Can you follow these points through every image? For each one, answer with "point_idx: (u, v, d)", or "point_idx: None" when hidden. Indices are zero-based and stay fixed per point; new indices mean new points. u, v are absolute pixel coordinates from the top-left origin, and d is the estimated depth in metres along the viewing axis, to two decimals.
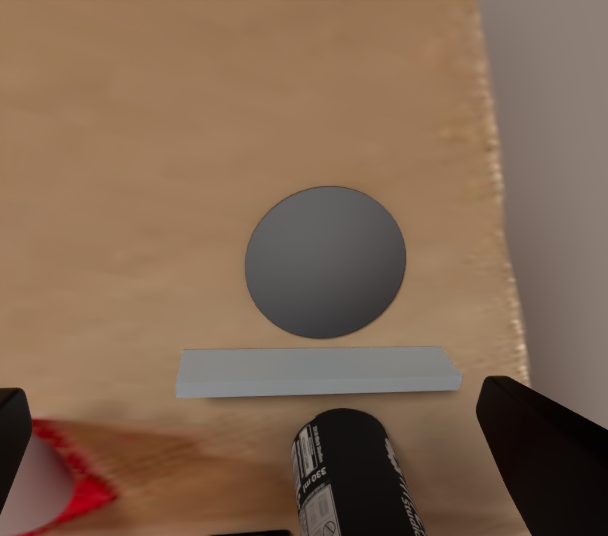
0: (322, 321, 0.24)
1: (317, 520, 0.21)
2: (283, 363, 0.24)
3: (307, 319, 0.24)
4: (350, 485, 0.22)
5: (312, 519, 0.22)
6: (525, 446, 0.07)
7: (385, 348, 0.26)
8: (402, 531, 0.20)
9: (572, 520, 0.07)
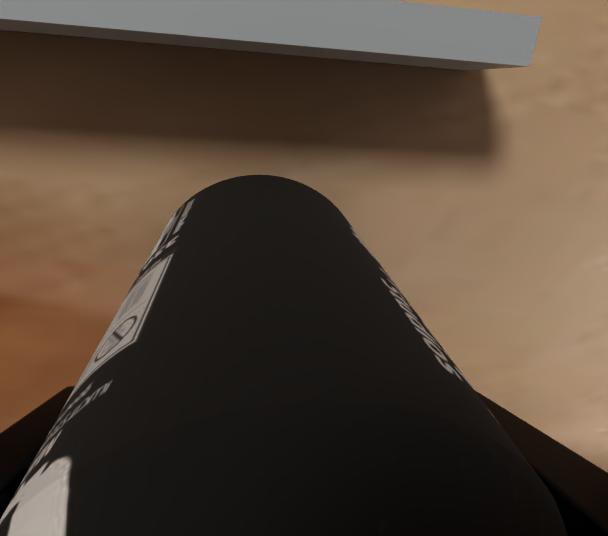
0: None
1: (106, 333, 0.07)
2: None
3: None
4: (225, 240, 0.07)
5: None
6: None
7: None
8: (376, 322, 0.05)
9: None
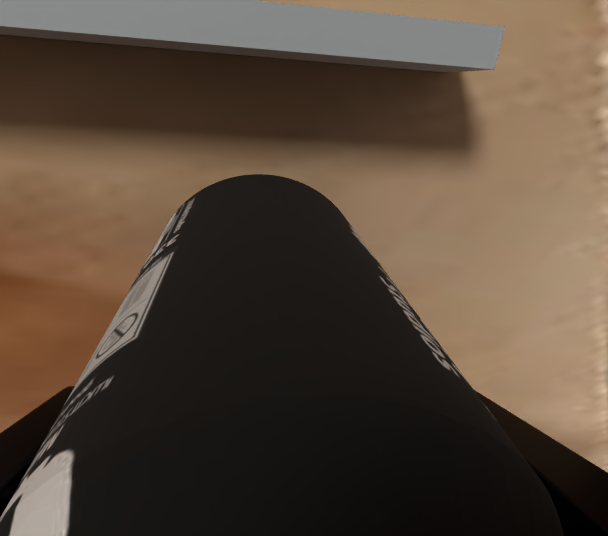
0: None
1: (107, 331, 0.07)
2: None
3: None
4: (226, 239, 0.07)
5: None
6: None
7: None
8: (374, 319, 0.05)
9: None
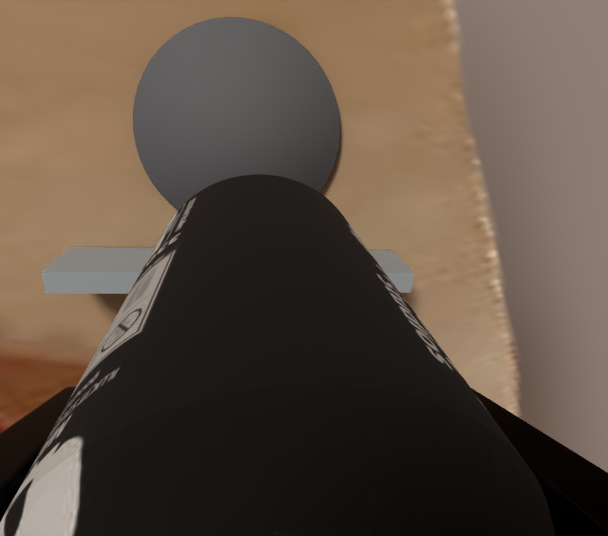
0: None
1: (111, 326, 0.07)
2: None
3: None
4: (226, 237, 0.07)
5: (107, 331, 0.07)
6: None
7: None
8: (370, 314, 0.05)
9: None
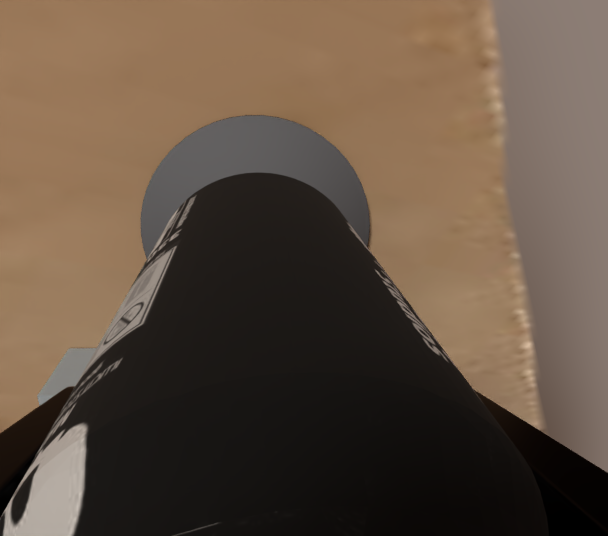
0: None
1: (113, 319, 0.07)
2: None
3: None
4: (226, 233, 0.08)
5: None
6: None
7: None
8: (367, 306, 0.05)
9: None
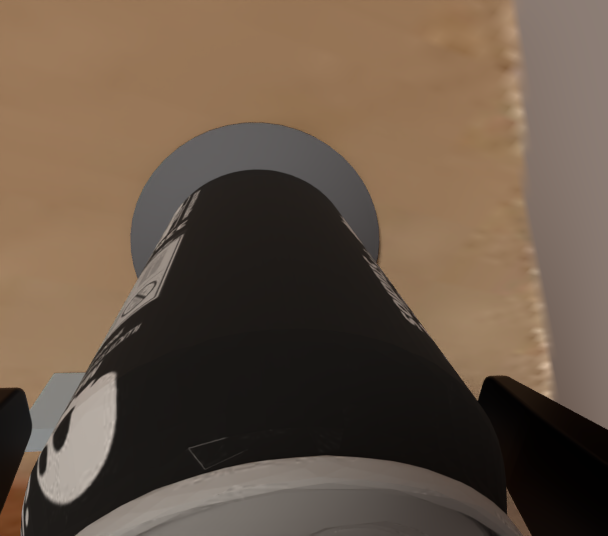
0: None
1: (128, 299, 0.08)
2: None
3: None
4: (229, 222, 0.08)
5: None
6: (525, 446, 0.07)
7: None
8: (352, 283, 0.06)
9: (572, 520, 0.07)
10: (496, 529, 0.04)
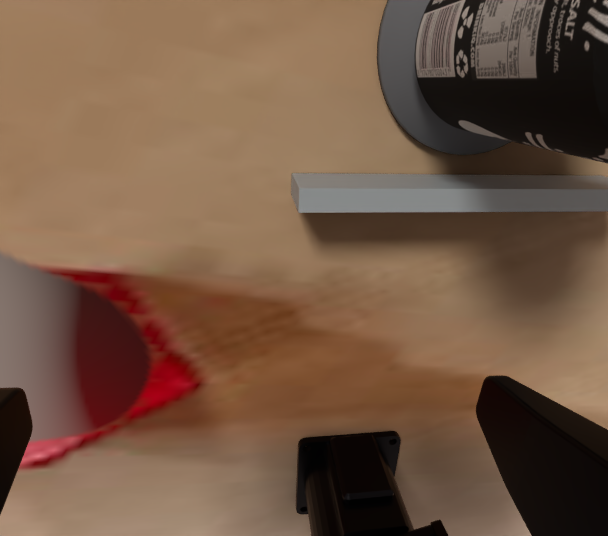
0: None
1: None
2: (422, 180, 0.19)
3: (450, 126, 0.19)
4: None
5: None
6: (525, 446, 0.07)
7: (537, 175, 0.21)
8: None
9: (572, 520, 0.07)
10: None
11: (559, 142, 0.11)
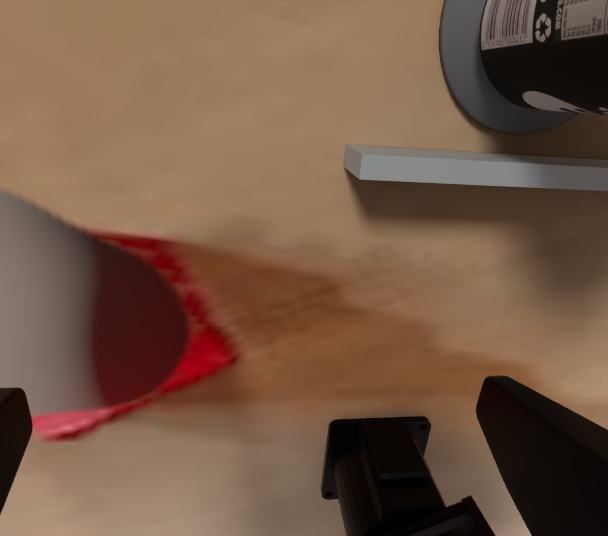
0: (522, 107, 0.19)
1: None
2: (477, 156, 0.19)
3: (505, 103, 0.19)
4: None
5: None
6: (525, 446, 0.07)
7: None
8: None
9: (572, 520, 0.07)
10: None
11: None
